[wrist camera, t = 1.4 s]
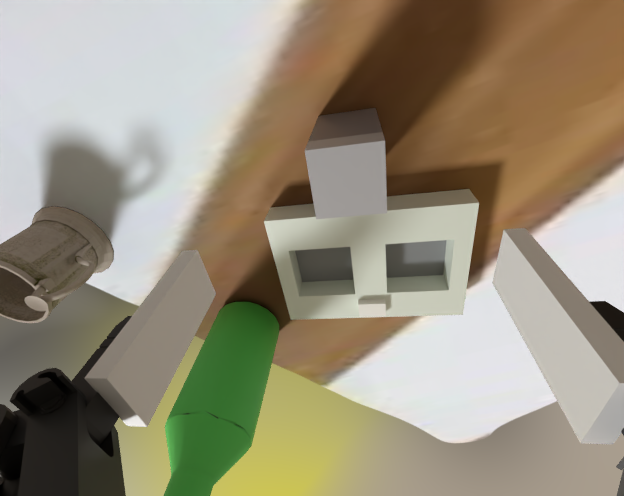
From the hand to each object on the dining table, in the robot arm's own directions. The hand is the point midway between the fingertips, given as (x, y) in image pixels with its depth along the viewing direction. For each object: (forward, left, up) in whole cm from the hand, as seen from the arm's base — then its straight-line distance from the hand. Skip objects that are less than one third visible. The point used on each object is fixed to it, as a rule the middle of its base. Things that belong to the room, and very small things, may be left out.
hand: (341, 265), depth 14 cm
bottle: (+23, -16, -19) cm, 33 cm away
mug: (+8, -33, -19) cm, 39 cm away
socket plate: (+13, +1, -19) cm, 23 cm away
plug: (0, 0, -19) cm, 19 cm away
